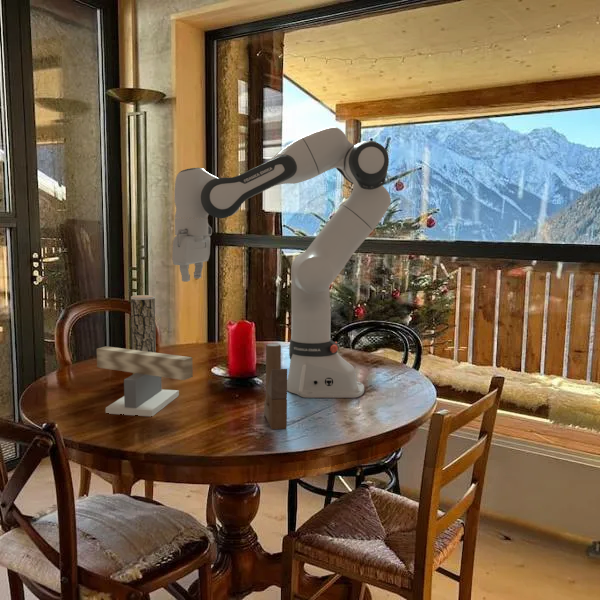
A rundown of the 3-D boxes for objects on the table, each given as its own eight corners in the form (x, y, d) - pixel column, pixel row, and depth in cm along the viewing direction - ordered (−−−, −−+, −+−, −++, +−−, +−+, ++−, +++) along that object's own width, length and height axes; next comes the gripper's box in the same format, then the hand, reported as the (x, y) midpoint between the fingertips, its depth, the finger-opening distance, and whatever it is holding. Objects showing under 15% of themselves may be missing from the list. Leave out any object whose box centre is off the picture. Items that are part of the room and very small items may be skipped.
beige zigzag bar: (192, 377, 148) (192, 357, 148) (184, 380, 145) (183, 360, 145) (106, 364, 160) (106, 346, 160) (97, 367, 157) (96, 348, 157)
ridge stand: (178, 395, 162) (178, 365, 161) (152, 416, 144) (151, 382, 143) (137, 393, 164) (136, 362, 163) (105, 413, 146) (104, 379, 145)
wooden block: (271, 430, 136) (271, 352, 133) (264, 415, 146) (264, 343, 144) (287, 429, 137) (287, 352, 134) (278, 414, 147) (279, 342, 145)
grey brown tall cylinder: (142, 383, 173) (140, 298, 170) (128, 379, 177) (125, 296, 174) (161, 379, 179) (159, 296, 175) (146, 375, 183) (144, 294, 180)
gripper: (189, 229, 151) (189, 283, 153) (213, 229, 171) (214, 277, 173) (165, 229, 152) (166, 283, 154) (192, 228, 172) (193, 276, 174)
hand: (191, 279), depth 163 cm, fingers open, 8 cm apart
